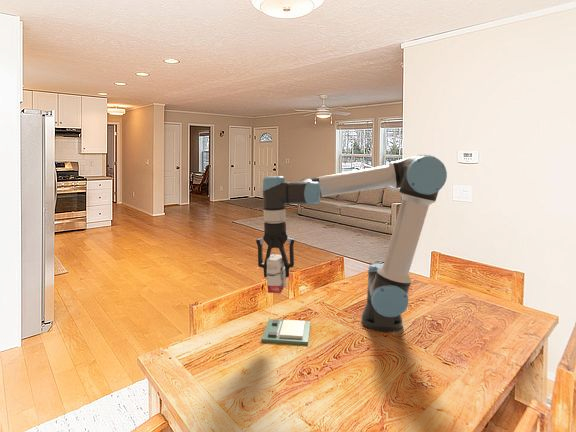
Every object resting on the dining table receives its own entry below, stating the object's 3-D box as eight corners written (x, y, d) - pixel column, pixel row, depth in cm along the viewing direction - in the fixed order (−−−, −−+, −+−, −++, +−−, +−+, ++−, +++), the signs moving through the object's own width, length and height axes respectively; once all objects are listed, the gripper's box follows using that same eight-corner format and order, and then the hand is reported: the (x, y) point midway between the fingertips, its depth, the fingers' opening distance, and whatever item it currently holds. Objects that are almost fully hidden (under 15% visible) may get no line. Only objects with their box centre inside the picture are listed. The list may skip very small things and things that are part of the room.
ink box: (281, 293, 130) (280, 260, 129) (267, 293, 131) (265, 260, 129) (285, 285, 139) (285, 253, 137) (272, 284, 140) (271, 253, 138)
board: (310, 323, 145) (310, 318, 145) (307, 344, 129) (307, 339, 129) (268, 321, 147) (268, 316, 146) (261, 341, 131) (261, 336, 131)
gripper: (301, 219, 134) (303, 282, 138) (251, 219, 136) (253, 281, 140) (300, 223, 126) (301, 290, 130) (246, 223, 128) (249, 289, 132)
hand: (276, 285), depth 135 cm, fingers closed on ink box, 5 cm apart
